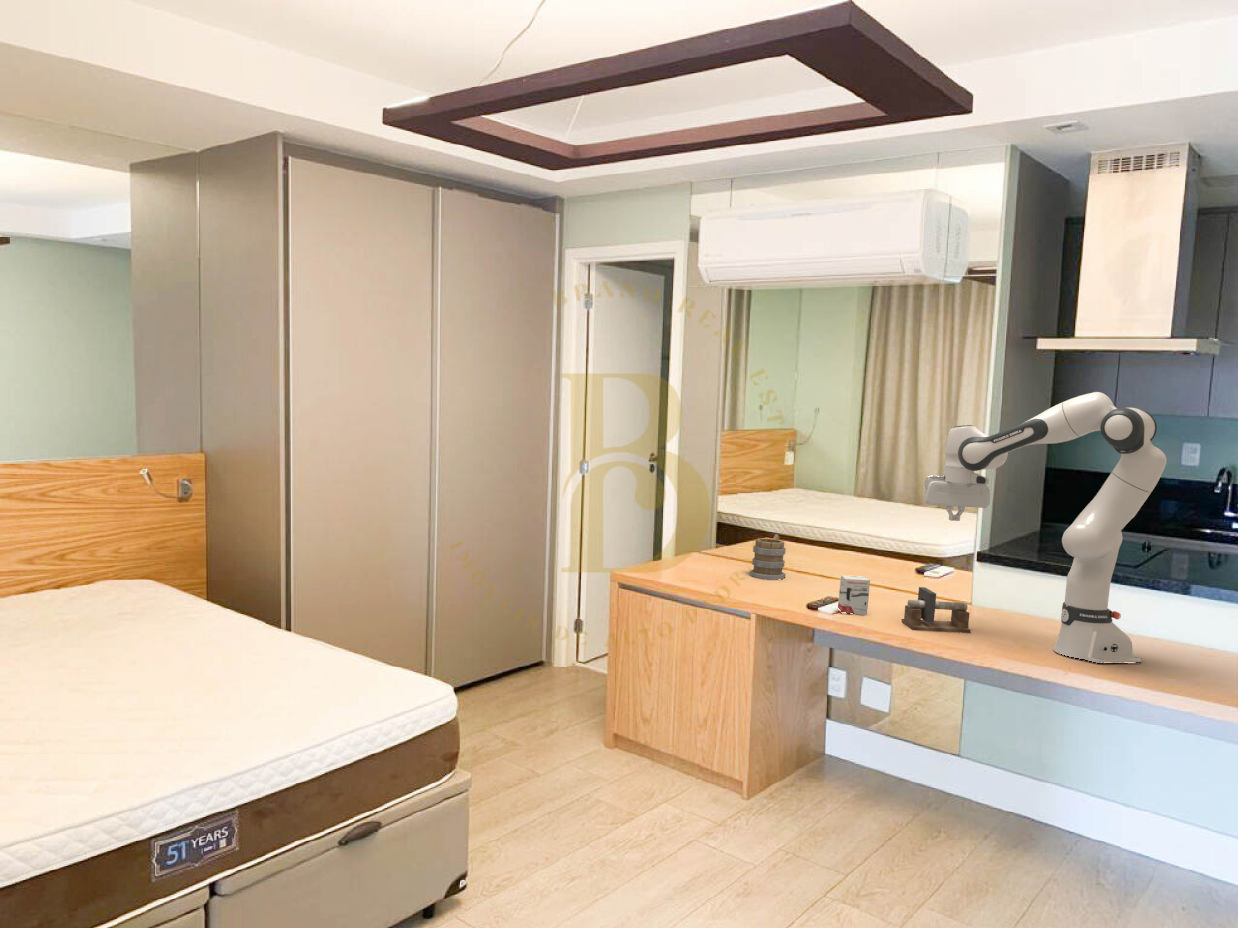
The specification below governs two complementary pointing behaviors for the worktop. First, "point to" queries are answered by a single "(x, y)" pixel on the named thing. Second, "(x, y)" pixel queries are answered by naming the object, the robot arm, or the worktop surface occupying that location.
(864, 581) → the ink box
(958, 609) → the pipe stand
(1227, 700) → the worktop surface
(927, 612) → the dark grey flat slab
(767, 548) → the tankard
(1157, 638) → the worktop surface
